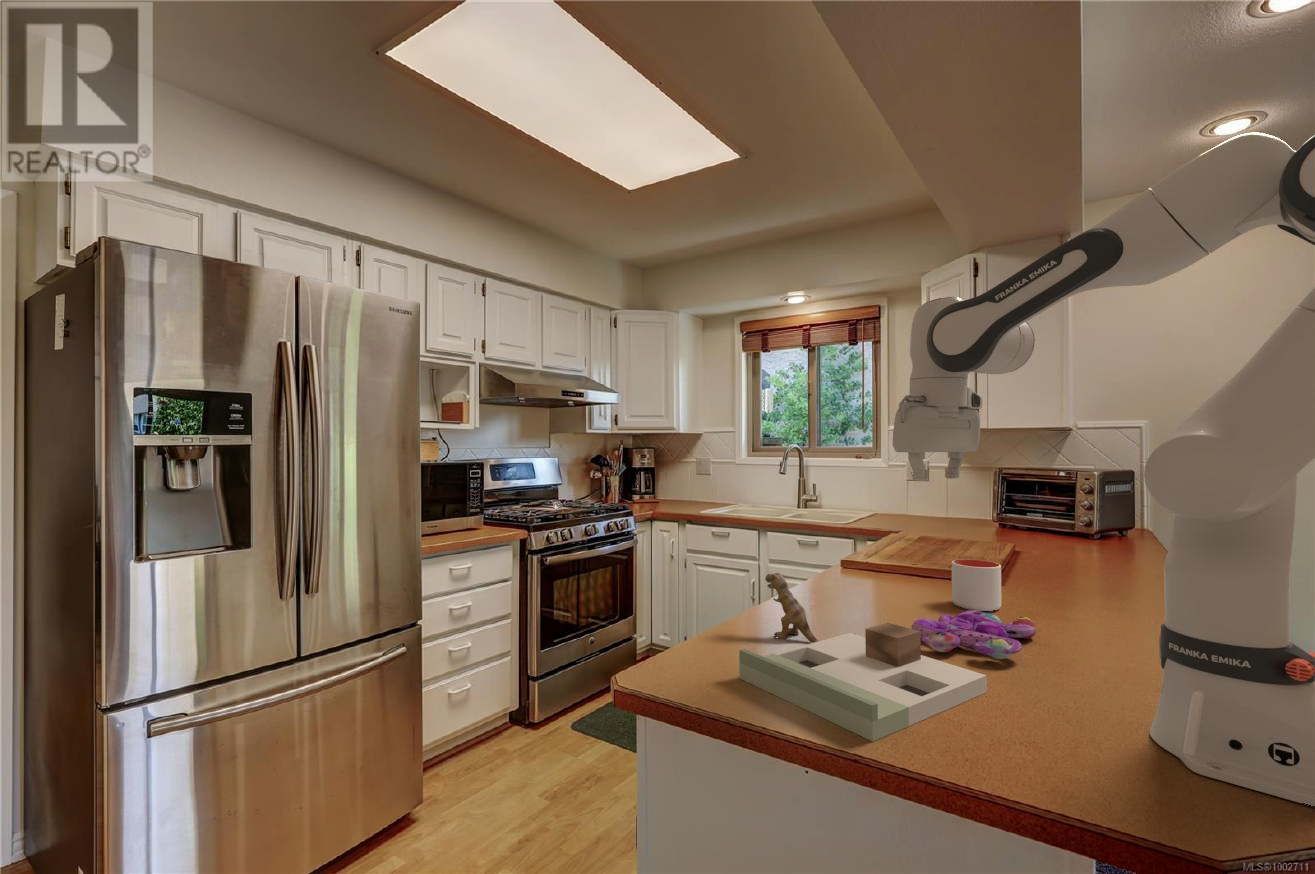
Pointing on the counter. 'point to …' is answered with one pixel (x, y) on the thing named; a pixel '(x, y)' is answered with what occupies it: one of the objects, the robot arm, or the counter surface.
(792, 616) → the toy
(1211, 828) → the counter surface
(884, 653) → the walnut block
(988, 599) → the cup
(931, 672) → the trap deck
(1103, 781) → the counter surface
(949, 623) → the decorative sculpture
